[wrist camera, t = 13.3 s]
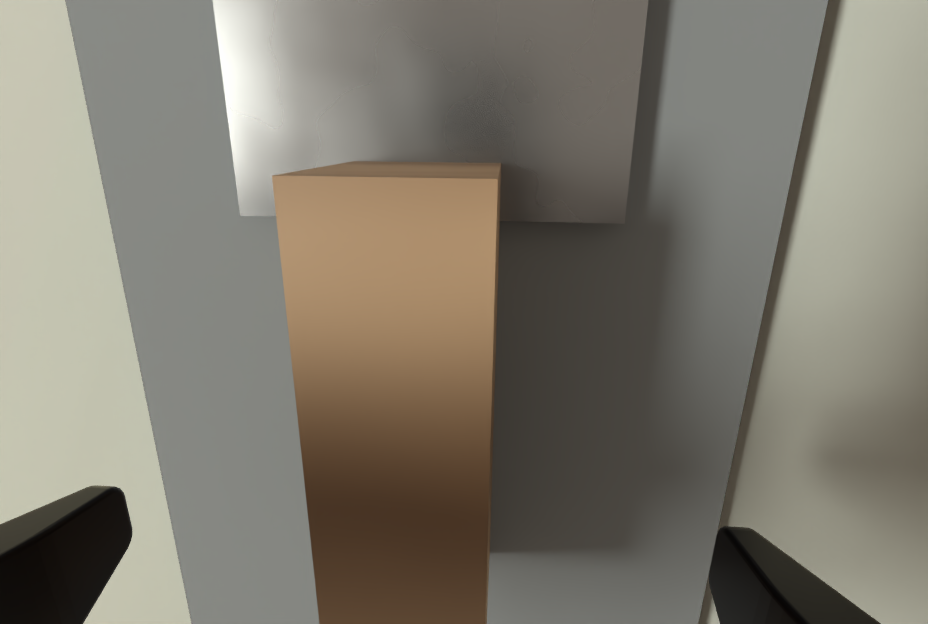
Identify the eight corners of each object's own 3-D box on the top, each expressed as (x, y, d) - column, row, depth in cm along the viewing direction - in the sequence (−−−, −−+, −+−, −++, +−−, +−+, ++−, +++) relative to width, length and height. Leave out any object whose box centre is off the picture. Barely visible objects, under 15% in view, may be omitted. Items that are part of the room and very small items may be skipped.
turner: (583, 558, 12) (616, 745, 9) (293, 539, 13) (205, 708, 9) (658, -183, 8) (798, -476, 4) (209, -169, 8) (-36, -417, 5)
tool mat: (672, 691, 14) (679, 713, 14) (212, 651, 15) (201, 671, 15) (899, -452, 7) (932, -501, 7) (12, -400, 8) (-24, -440, 8)
